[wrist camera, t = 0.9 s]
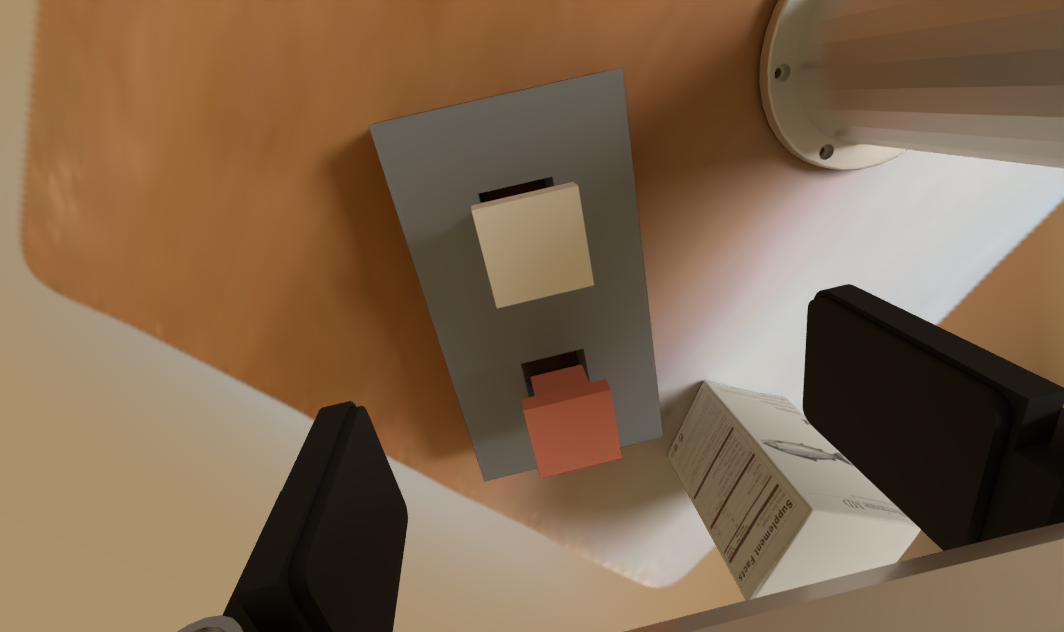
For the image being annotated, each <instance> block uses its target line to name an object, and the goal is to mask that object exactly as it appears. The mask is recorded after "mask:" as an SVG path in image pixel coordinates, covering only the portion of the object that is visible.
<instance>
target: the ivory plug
mask: <svg viewBox="0 0 1064 632" xmlns="http://www.w3.org/2000/svg"><path fill="white" fill-rule="evenodd" d="M471 211H472V215H473V219H474V222H475V226H476V230H477V234H478V238H479V242H480V246H481V249H482V253H483V257H484V261H485V265H486V269H487V273H488V277H489V280H490V284H491V288H492V292H493V296H494V300H495V304H496V307H497V308H501V307H505V306H509V305H514V304H518V303H522V302H526V301H530V300H535V299H539V298H543V297H547V296H551V295H556V294H560V293H564V292H568V291H572V290H577V289H581V288H585V287H589V286H593V285H594V281H593V275H592V269H591V262H590V256H589V250H588V244H587V238H586V231H585V225H584V219H583V213H582V206H581V200H580V194H579V188H578V185H577V184H575V183H574V182H570V183H566V184H561V185H557V186H553V187H549V188H544V189H540V190H536V191H531V192H527V193H523V194H518V195H514V196H510V197H505V198H501V199H497V200H493V201H488V202H484V203H480V204H475V205H471Z"/></svg>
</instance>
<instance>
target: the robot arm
mask: <svg viewBox="0 0 1064 632" xmlns="http://www.w3.org/2000/svg"><path fill="white" fill-rule="evenodd" d="M775 70H776V71H777V73H776V76H775ZM759 84H760V91H761V99H762V105H763V108H764V111H765V114H766V117H767V120H768V123H769V125H770V127H771V128H772V130H773V132H774V133H775V135H776V137H777V139H778V140H779V141H780V142H781V143H782V144H783V145H784V146H785V147H786V148H787V149H788V150H789V152H790V153H792V154H793V155H795V156H797V157H798V158H800V159H801V160H803V161H805V162H807V163H810V164H813V165H816V166H819V167H823V168H829V169H836V170H859V169H864V168H868V167H872V166H876V165H879V164H882V163H884V162H886V161H889V160H891V159H893V158H896V157H898V156H899V155H901V154H902V153H904V152H905V151H907V150H916V151H924V152H932V153H940V154H949V155H957V156H965V157H974V158H982V159H990V160H999V161H1007V162H1015V163H1024V164H1032V165H1040V166H1049V167H1057V168H1064V0H778V2H777V4H776V6H775V8H774V10H773V13H772V16H771V19H770V21H769V24H768V27H767V30H766V33H765V37H764V42H763V47H762V52H761V57H760V78H759ZM1063 404H1064V388H1063V387H1061V386H1059V385H1057V384H1055V383H1053V382H1051V381H1049V380H1047V379H1045V378H1043V377H1040V376H1039V375H1036V374H1034V373H1032V372H1030V371H1028V370H1026V369H1024V368H1022V367H1020V366H1018V365H1016V364H1014V363H1012V362H1010V361H1008V360H1006V359H1004V358H1002V357H999V356H997V355H995V354H993V353H991V352H989V351H987V350H985V349H983V348H981V347H979V346H977V345H975V344H972V343H970V342H969V341H967V340H964V339H962V338H960V337H958V336H956V335H954V334H952V333H950V332H948V331H946V330H944V329H942V328H940V327H938V326H936V325H934V324H932V323H930V322H927V321H925V320H923V319H921V318H919V317H917V316H915V315H913V314H911V313H909V312H907V311H905V310H903V309H901V308H899V307H897V306H895V305H893V304H890V303H888V302H886V301H884V300H882V299H880V298H878V297H876V296H874V295H872V294H870V293H868V292H866V291H864V290H862V289H860V288H858V287H856V286H853V285H850V284H848V285H843V286H839V287H834V288H830V289H826V290H822V291H819V292H818V293H817V294H816V296H815V297H814V300H812V301H810V303H809V305H808V314H807V334H806V353H805V372H804V391H803V411H804V415H805V417H806V419H807V421H808V422H809V423H810V424H811V425H812V426H813V427H814V428H815V429H816V430H817V431H818V432H819V433H820V434H821V435H822V436H823V437H824V438H825V439H826V440H827V441H828V442H829V443H830V444H832V445H833V446H834V447H835V448H836V449H837V450H838V451H839V452H840V453H841V454H842V455H843V456H844V457H845V458H846V459H847V460H848V461H849V462H850V463H852V464H853V465H854V466H855V467H856V468H857V469H858V470H859V471H860V472H861V473H862V474H863V475H864V476H865V477H866V478H867V479H868V480H869V481H870V482H871V483H873V484H874V485H875V486H876V487H877V488H878V489H879V490H880V491H881V492H882V493H883V494H884V495H885V496H886V497H887V498H888V499H889V500H890V501H891V502H893V503H894V504H895V505H896V506H897V507H898V508H899V509H900V510H901V511H902V512H903V513H904V514H905V515H906V516H907V517H908V518H909V519H910V520H911V521H913V522H914V523H915V524H916V525H917V526H918V527H919V528H920V529H921V530H922V531H923V532H924V533H925V534H926V535H927V536H928V537H929V538H930V539H931V540H933V541H934V542H935V543H936V544H937V545H938V546H939V547H940V548H941V549H942V550H943V551H942V552H939V553H934V554H930V555H927V556H922V557H918V558H914V559H910V560H906V561H902V562H898V563H894V564H890V565H886V566H882V567H878V568H873V569H869V570H865V571H861V572H857V573H853V574H849V575H845V576H841V577H837V578H833V579H829V580H825V581H822V582H818V583H814V584H810V585H806V586H802V587H798V588H794V589H790V590H786V591H782V592H778V593H774V594H770V595H766V596H762V597H758V598H754V599H750V600H746V601H742V602H738V603H735V604H731V605H727V606H723V607H719V608H715V609H711V610H707V611H703V612H699V613H695V614H691V615H687V616H684V617H680V618H676V619H672V620H668V621H664V622H660V623H656V624H653V625H648V626H644V627H641V628H637V629H633V630H629V631H625V632H1064V408H1062V407H1063ZM407 523H408V514H407V508H406V504H405V501H404V499H403V497H402V494H401V492H400V489H399V487H398V484H397V482H396V480H395V477H394V475H393V472H392V470H391V468H390V465H389V463H388V460H387V458H386V456H385V453H384V451H383V448H382V446H381V444H380V441H379V439H378V436H377V434H376V432H375V429H374V427H373V424H372V422H371V420H370V417H369V415H368V412H367V410H366V409H365V407H364V406H359V407H356V405H355V404H354V403H353V402H351V401H349V402H344V403H340V404H336V405H332V406H327V407H323V408H321V409H320V410H319V412H318V414H317V416H316V419H315V421H314V423H313V425H312V427H311V429H310V431H309V433H308V436H307V438H306V440H305V442H304V444H303V447H302V448H301V451H300V453H299V455H298V457H297V459H296V461H295V463H294V466H293V468H292V470H291V472H290V474H289V476H288V478H287V480H286V483H285V485H284V487H283V489H282V491H281V492H280V494H279V496H278V498H277V500H276V502H275V505H274V507H273V509H272V511H271V513H270V515H269V517H268V520H267V522H266V524H265V526H264V528H263V530H262V532H261V534H260V536H259V539H258V541H257V543H256V545H255V547H254V549H253V551H252V553H251V555H250V558H249V560H248V562H247V564H246V566H245V568H244V570H243V573H242V575H241V577H240V579H239V581H238V583H237V586H236V588H235V590H234V592H233V594H232V596H231V598H230V600H229V602H228V604H227V607H226V609H225V611H224V613H223V615H222V616H221V615H220V616H214V617H208V618H204V619H201V620H199V621H196V622H194V623H192V624H189V625H187V626H186V627H184V628H182V629H181V630H179V631H178V632H393V625H394V618H395V611H396V603H397V596H398V589H399V582H400V574H401V567H402V559H403V552H404V545H405V538H406V530H407Z"/></svg>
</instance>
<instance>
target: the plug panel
mask: <svg viewBox="0 0 1064 632" xmlns="http://www.w3.org/2000/svg"><path fill="white" fill-rule="evenodd" d="M368 126H369V129H370V132H371V135H372V138H373V141H374V144H375V147H376V150H377V153H378V156H379V159H380V162H381V166H382V169H383V172H384V175H385V178H386V181H387V184H388V187H389V190H390V193H391V196H392V199H393V202H394V205H395V208H396V212H397V215H398V218H399V221H400V224H401V227H402V230H403V233H404V236H405V239H406V242H407V245H408V248H409V251H410V254H411V258H412V261H413V264H414V267H415V270H416V273H417V276H418V279H419V282H420V285H421V288H422V291H423V294H424V297H425V301H426V304H427V307H428V310H429V313H430V316H431V319H432V322H433V325H434V328H435V331H436V334H437V337H438V340H439V343H440V347H441V350H442V353H443V356H444V359H445V362H446V365H447V368H448V371H449V374H450V377H451V380H452V383H453V386H454V390H455V393H456V396H457V399H458V402H459V405H460V408H461V411H462V414H463V417H464V420H465V423H466V426H467V429H468V432H469V436H470V439H471V442H472V445H473V448H474V451H475V454H476V457H477V460H478V463H479V466H480V469H481V472H482V475H483V478H484V481H488V480H492V479H496V478H500V477H504V476H508V475H512V474H516V473H520V472H524V471H528V470H532V469H537V468H538V466H537V462H536V458H535V454H534V450H533V446H532V443H531V439H530V435H529V431H528V427H527V423H526V419H525V415H524V412H523V406H522V401H521V399H525V398H529V397H533V396H535V394H534V390H533V386H532V381H526V379H525V375H524V371H523V367H522V363H526V362H530V361H534V360H538V359H543V358H547V357H551V356H555V355H559V354H563V353H567V352H572V351H576V352H577V357H578V362H579V365H582V366H583V368H584V371H585V373H586V375H587V378H588V380H589V382H590V383H591V382H595V381H599V380H603V379H606V381H607V383H608V385H609V387H610V389H611V393H612V399H613V406H614V412H615V418H616V424H617V431H618V437H619V443H620V448H621V447H625V446H629V445H633V444H638V443H642V442H646V441H650V440H654V439H658V438H662V437H663V431H662V422H661V413H660V404H659V395H658V386H657V377H656V368H655V359H654V350H653V341H652V332H651V323H650V314H649V305H648V296H647V287H646V278H645V269H644V260H643V251H642V242H641V233H640V224H639V215H638V206H637V197H636V188H635V179H634V170H633V161H632V152H631V142H630V133H629V124H628V115H627V106H626V97H625V88H624V79H623V70H622V68H618V69H613V70H608V71H602V72H598V73H593V74H589V75H584V76H580V77H576V78H571V79H567V80H562V81H558V82H553V83H549V84H545V85H540V86H536V87H531V88H527V89H523V90H518V91H514V92H509V93H505V94H501V95H496V96H492V97H487V98H483V99H478V100H474V101H470V102H465V103H461V104H456V105H452V106H448V107H443V108H439V109H434V110H430V111H426V112H421V113H417V114H412V115H408V116H403V117H399V118H395V119H390V120H386V121H382V122H378V123H375V124H371V125H368ZM539 179H544V183H545V188H549V187H553V186H557V185H561V184H566V183H570V182H574V183H575V184H577V185H578V188H579V194H580V200H581V206H582V213H583V219H584V225H585V231H586V238H587V244H588V250H589V256H590V262H591V269H592V275H593V281H594V285H593V286H589V287H585V288H581V289H577V290H572V291H568V292H564V293H560V294H556V295H551V296H547V297H543V298H539V299H535V300H530V301H526V302H522V303H518V304H514V305H509V306H505V307H501V308H497V307H496V304H495V300H494V296H493V292H492V288H491V284H490V280H489V277H488V273H487V269H486V265H485V261H484V257H483V253H482V249H481V246H480V242H479V238H478V234H477V230H476V226H475V222H474V219H473V215H472V211H471V205H475V204H480V203H482V201H481V197H480V193H483V192H488V191H492V190H496V189H501V188H505V187H509V186H514V185H518V184H522V183H527V182H531V181H535V180H539Z"/></svg>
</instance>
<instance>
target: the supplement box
mask: <svg viewBox="0 0 1064 632" xmlns="http://www.w3.org/2000/svg"><path fill="white" fill-rule="evenodd" d="M668 458H669V460H670V462H671V464H672V466H673V468H674V469H675V471H676V473H677V475H678V477H679V479H680V480H681V482H682V484H683V486H684V488H685V490H686V491H687V493H688V495H689V497H690V499H691V501H692V503H693V504H694V506H695V508H696V510H697V512H698V514H699V515H700V517H701V519H702V521H703V523H704V525H705V526H706V528H707V530H708V532H709V534H710V535H711V537H712V539H713V541H714V543H715V545H716V546H717V548H718V550H719V552H720V554H721V556H722V558H723V559H724V561H725V563H726V565H727V567H728V568H729V570H730V572H731V574H732V576H733V578H734V580H735V581H736V583H737V585H738V587H739V589H740V591H741V592H742V595H743V597H744V598H745V600H750V599H754V598H758V597H762V596H766V595H770V594H774V593H778V592H782V591H786V590H790V589H794V588H798V587H802V586H806V585H810V584H814V583H818V582H822V581H825V580H829V579H833V578H837V577H841V576H845V575H849V574H853V573H857V572H861V571H865V570H869V569H873V568H878V567H882V566H886V565H890V564H894V563H896V562H897V561H898V560H899V558H900V557H901V556H902V554H903V553H904V552H905V550H906V549H907V548H908V547H909V545H910V544H911V543H912V541H913V540H914V539H915V538H916V536H917V535H918V533H919V531H920V530H921V529H920V528H919V527H918V526H917V525H916V524H915V523H914V522H913V521H911V520H910V519H909V518H908V517H907V516H906V515H905V514H904V513H903V512H902V511H901V510H900V509H899V508H898V507H897V506H896V505H895V504H894V503H893V502H891V501H890V500H889V499H888V498H887V497H886V496H885V495H884V494H883V493H882V492H881V491H880V490H879V489H878V488H877V487H876V486H875V485H874V484H873V483H871V482H870V481H869V480H868V479H867V478H866V477H865V476H864V475H863V474H862V473H861V472H860V471H859V470H858V469H857V468H856V467H855V466H854V465H853V464H852V463H850V462H849V461H848V460H847V459H846V458H845V457H844V456H843V455H842V454H841V453H840V452H839V451H838V450H837V449H836V448H835V447H834V446H833V445H832V444H830V443H829V442H828V441H827V440H826V439H825V438H824V437H823V436H822V435H821V434H820V433H819V432H818V431H817V430H816V429H815V428H814V427H813V426H812V425H811V424H810V423H809V422H808V421H807V419H806V417H805V415H804V414H803V413H801V412H800V411H799V410H798V409H797V408H796V407H795V406H794V405H793V404H792V403H791V402H790V401H789V400H788V399H787V398H785V397H779V396H772V395H766V394H761V393H756V392H751V391H747V390H742V389H738V388H734V387H729V386H725V385H721V384H717V383H713V382H709V381H704V382H703V384H702V385H701V387H700V389H699V391H698V393H697V395H696V397H695V399H694V401H693V403H692V405H691V407H690V409H689V411H688V413H687V415H686V417H685V419H684V421H683V423H682V426H681V428H680V430H679V431H678V434H677V436H676V438H675V440H674V442H673V444H672V446H671V448H670V450H669V453H668Z"/></svg>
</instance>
